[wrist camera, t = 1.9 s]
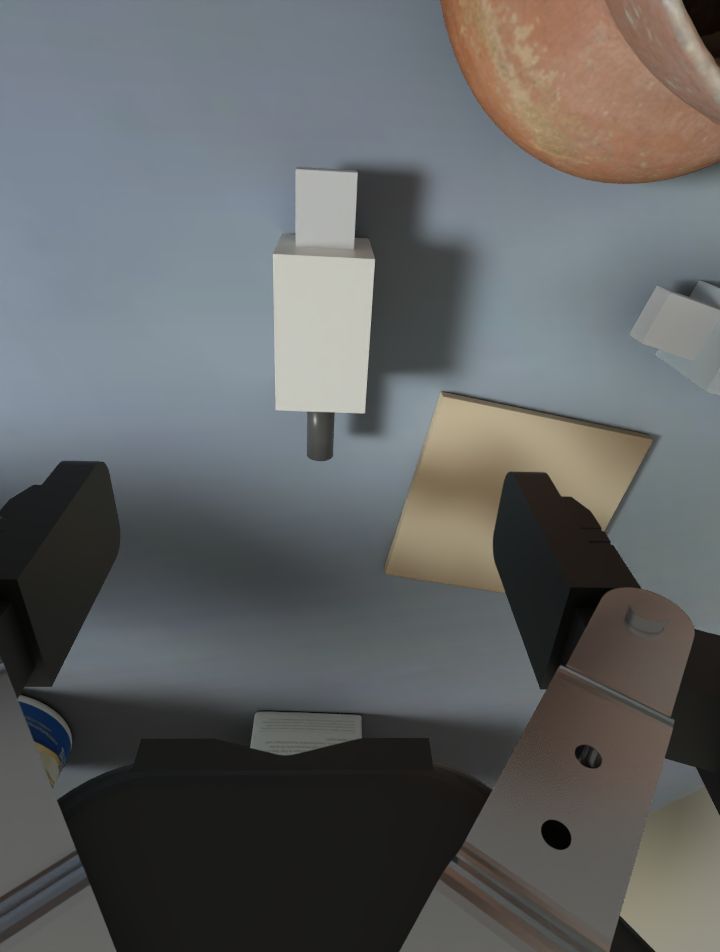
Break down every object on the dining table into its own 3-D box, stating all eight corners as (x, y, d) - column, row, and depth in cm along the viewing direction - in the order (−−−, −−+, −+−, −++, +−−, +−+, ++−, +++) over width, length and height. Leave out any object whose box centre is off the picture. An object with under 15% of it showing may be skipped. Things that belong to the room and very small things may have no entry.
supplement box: (253, 708, 40) (223, 928, 29) (363, 712, 40) (375, 929, 30) (251, 775, 43) (224, 992, 33) (352, 777, 44) (359, 992, 33)
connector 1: (357, 434, 30) (360, 480, 26) (284, 431, 29) (276, 478, 26) (372, 168, 24) (380, 177, 20) (281, 163, 24) (271, 171, 20)
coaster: (562, 595, 36) (565, 602, 35) (384, 567, 34) (384, 574, 33) (647, 434, 30) (653, 439, 30) (441, 391, 29) (443, 396, 28)
